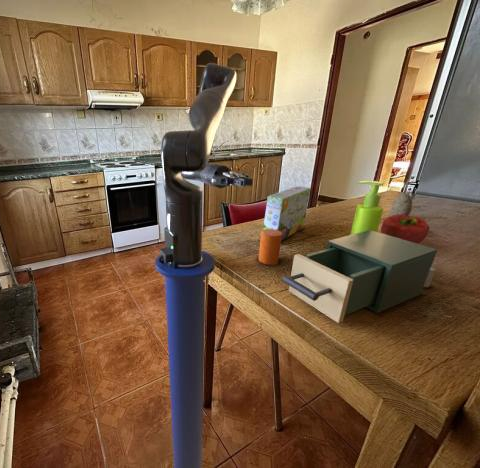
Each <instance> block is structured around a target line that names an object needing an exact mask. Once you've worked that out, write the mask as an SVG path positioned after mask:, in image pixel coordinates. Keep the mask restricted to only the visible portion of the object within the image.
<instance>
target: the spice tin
mask: <svg viewBox="0 0 480 468" xmlns="http://www.w3.org/2000/svg"><path fill="white" fill-rule="evenodd" d="M260 231H261V232H260V240H259V251H258V261H259V263H261V264H263V265H267V266H268V265H269V266H274V265H277V264H279V260H280V252H281V246H282V240H281V239H282V232H281V231H279V230H275V229H264V230H263V229H262V230H260Z"/></svg>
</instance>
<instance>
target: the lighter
mask: <svg viewBox="0 0 480 468" xmlns="http://www.w3.org/2000/svg"><path fill="white" fill-rule="evenodd" d="M435 273H436V269H435V268H433V267H431V268H430V271H429V273H428V276H427V278H426V281H425V284H424V286H423V288H429V287H430V285H431V283H432V280H433V278H434V275H435Z"/></svg>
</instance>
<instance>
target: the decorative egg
mask: <svg viewBox="0 0 480 468" xmlns="http://www.w3.org/2000/svg"><path fill="white" fill-rule="evenodd" d="M412 209H413V200H412V197H411V195H410V194H409V193H407V192H403V193H401V194H399V195H398V196H397V197H396V198H395V200H394V201H393V202H392V204H391V206H390V211H389V212H390V215H391V217H392V216H394V215H398V214H402V215H407V216H410V214H411V212H412Z"/></svg>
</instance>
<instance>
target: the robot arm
mask: <svg viewBox="0 0 480 468" xmlns="http://www.w3.org/2000/svg"><path fill="white" fill-rule="evenodd" d="M236 82H237V72H236V70H235V69H234V68H232V67H230V66H227V65H222V64H219V63H214V62H209V63H207V64H206V65H205V67H204V69H203V72H202V75H201V79H200V83H199V90H198V94H197V95H196V96H195V98H194V100H193V101H192V103H191V105H190V106H189V110H188V121H189V123H190V125H191V128H192V129H193V130H189V129H188V130H172V131H166V132H165V133H164V135H163V137H162V139H161V144H160V156H161V157H160V159H161V168H162V179H163V189H164V195H165V214H166V216H165V217H166V218H165V219H166V226H165V227H164V228H163V233H164V247H162V248H159V250H158V251H159V255H160V257H159V258H158V261H159V262H160V263H162V264H164V263H169V264H170V265H171V266H172V267H173V268H174V269H176V268H182V269H187V268H194V267H196V266H198V265H200V264H201V263H202V251H203V207H204V206H203V199H204V197H203V195H204V194H203V189H202V188H201V187H200V186H199V185H198V184H197V185H196V184H194V183H192V182H190V181H197V182H200V183H203V184H206V185H207V186H210V187H214V188H218V189H224V188H226V187H231V186H233V187H236V186H237V187H240V188H245V187H252V186H253V178H251V177H250V175H249V174H248V173H247V172H242V173H239V172H235V171H233V170H232V169H231V168H230V167H229V166H227V165H224V164H218V163H209V161H210V156H211V153H212V149H213V145H214V142H215V141H214V140H215V136H216V134H217V131H218V128H219V125H220V123H221V121H222V119H223V116H224V114H225V109H226V107H227V103H228V101H229V99H230V97H231V95H232V94H233V91H234V89H235V86H236ZM188 180H189V181H188Z"/></svg>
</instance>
